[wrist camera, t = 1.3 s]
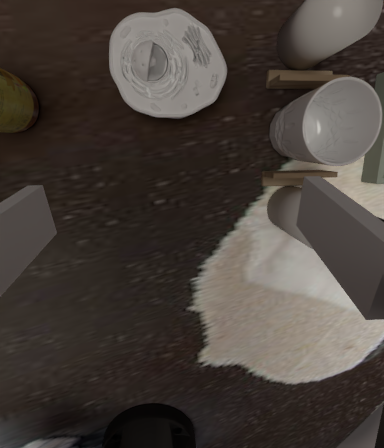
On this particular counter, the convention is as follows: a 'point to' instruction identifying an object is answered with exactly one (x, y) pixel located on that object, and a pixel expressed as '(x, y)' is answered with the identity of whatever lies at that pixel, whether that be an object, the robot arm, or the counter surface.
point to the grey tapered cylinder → (286, 211)
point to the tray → (376, 145)
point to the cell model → (166, 63)
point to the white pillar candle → (324, 30)
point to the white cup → (329, 123)
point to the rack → (295, 81)
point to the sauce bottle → (16, 104)
